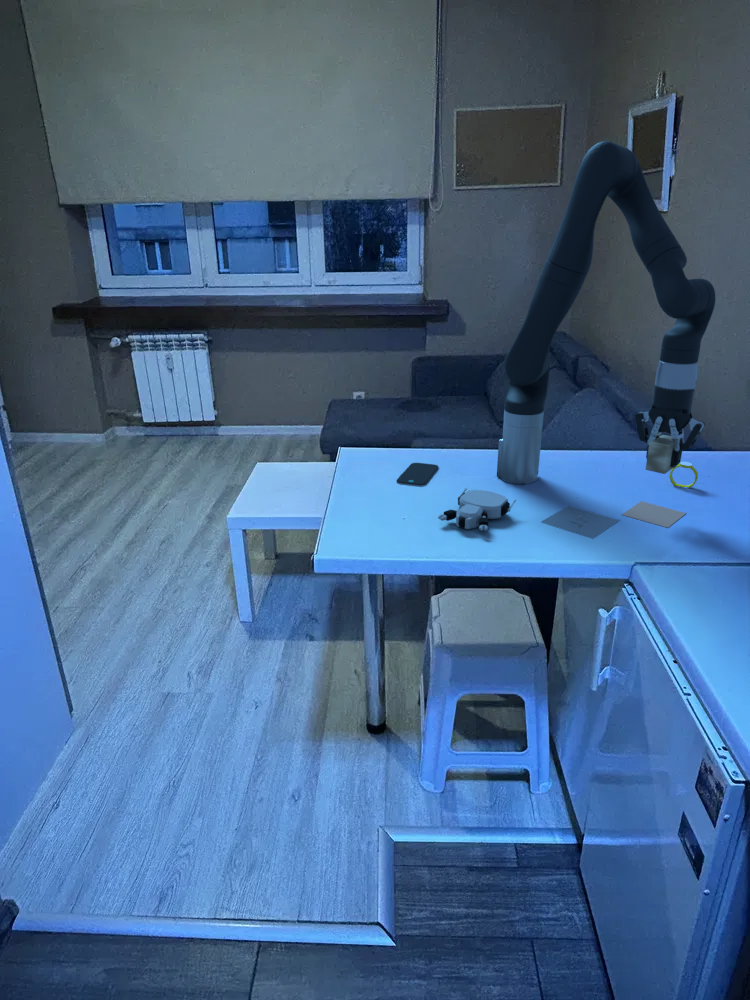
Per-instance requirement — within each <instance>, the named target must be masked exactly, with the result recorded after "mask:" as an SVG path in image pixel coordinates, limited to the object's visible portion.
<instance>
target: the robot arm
mask: <svg viewBox="0 0 750 1000" xmlns="http://www.w3.org/2000/svg"><path fill="white" fill-rule="evenodd" d="M573 184H574V185H573V187H572V191H571V193H570V196H569V197H570V198H569V201H568V204H567V207H566V211H565V213H564V215H563V218H562V219H561V220H562V221H561V223H560V225H559V228H558V231H557V234H556V237H555V239H554V241H553V244H552V246H551V249H550V251H549V254H548V255H547V258H546V259H545V262H544V264H543V265H544V266H543V267H542V271H541V272H540V275H539V278H538V281H537V284H536V287H535V288H534V289H535V290H534V291H533V294H532V295H533V296H532V298H531V300H530V303H529V307H528V310H527V313H526V316H525V319H524V322H523V324H522V326H521V328H520V330H519V332H518V333H517V336H516V338H515V339H514V342H513V344H512V345H511V346H510V349H509V351H508V353H507V354H506V357H505V359H504V372H505V374H506V377H507V379H508V380H509V381H508V383H509V384H508V389H507V394H506V396H505V398H504V410H503V411H504V412H503V427H502V438H500V439H499V440H498V449H497V463H496V464H497V465H496V477H498V478H500V479H501V480H502V481H505V482H507V483H510V484H516V485H518V484H520V485H521V484H522V485H524V484H525V485H526V484H527V485H528V484H531V483H532V484H533V483H534V482H536V481H538V479H539V478H538V477H539V472H540V471H539V467H540V456H541V446H542V434H543V425H544V412H545V411H544V410H545V403H546V400H547V395H548V389H549V388H548V387H549V386H548V385H549V378H550V368H551V357H550V352H549V350H550V348H551V344H552V342H553V340H554V337H555V334H556V333H557V331H558V328H559V327H560V325H561V324H562V322H563V321H564V319H565V318H566V316H567V314H568V313H569V311H570V309H571V308H572V307H573V304H574V303H575V300H576V299H577V297H578V295H579V294H580V291H581V289H582V288H583V285H584V283H585V280H586V277H587V276H588V273H589V271H590V268H591V265H592V260H593V254H594V253H593V252H594V238H595V235H594V234H595V227H596V223H597V219H598V217H599V214H600V212H601V209H602V207H603V205H604V202H605V201H606V199H607V197H608V198H609V199H610V200H612V202H613V203H614V204H615V205H616V207H618V208H619V210H620V211H621V213H622V214H623V216H624V219H625V220H626V223H627V225H628V228H629V232H630V237H631V240H632V244H633V247H634V249H635V252H636V253H637V255H638V257H639V258H640V261H641V262H642V264H643V265H644V267H645V269H646V271H647V272H648V273H649V275H650V276H651V282H652V286H653V289H654V293H655V297H656V300H657V302H658V305H659V307H660V308H661V311H663V312H664V313H665V314H666V315H667V316H668V317H669V318H672V319H675V323H674V326H673V327H672V328H671V329H669V330H668V331H667V332H666V333H664V335H663V338H662V342H661V348H660V355H659V361H658V365H657V368H656V373H655V380H654V387H653V391H652V392H653V394H652V400H651V401H652V402H651V407H650V409H649V410H648V411H644V410H642V411H639V412H637V413H635V415H634V418H635V423H636V428H637V434H638V439H639V440H640V441H641V442H644V443H646V444H647V448H646V455H645V457H646V459H647V456H648V449H649V442H651V441H653V440H655V439H656V438H659V437H660V436H662V435H663V434H662V433H667V434H669V435H670V436H671V438H672V440H673V447H674V450H673V451H672V457H671V463H670V467H672V468H674V467H676V466H677V465H678V464H680V462H682V456H683V455H682V453H683V451H687V450H689V449H691V448H692V447H694V445H695V444H696V441H697V440H698V438H699V437H700V435H701V433H702V431H703V430H704V428H705V426H706V423H705V422H704V421H698V420H696V419H694V418H693V414H692V407H693V402H694V401H693V400H694V395H695V391H696V390H695V389H696V385H697V381H698V380H697V379H698V378H697V377H698V363H699V358H700V357H699V356H700V352H701V343H702V340H703V337H704V335H705V332H706V331H707V329H708V326H709V323H710V321H711V318H712V315H713V312H714V310H715V305H716V290H715V288H714V286H713V284H712V283H711V281H709V280H708V279H704V278H691V279H690V278H689V279H688V278H687V276H686V274H685V272H684V268H685V267H686V266H687V263H688V262H687V261H688V260H687V259H688V258H687V255H686V253H685V251H684V249H683V248H682V246H681V244H680V243H679V241H678V240H677V238H676V237H675V235H674V233H673V232H672V230H671V228H670V226H669V225H668V224H667V221H666V220H665V219H664V217H663V215H662V213H661V212H660V210H659V208H658V206H657V204H656V201H655V200H654V198H653V196H652V194H651V191H650V187H649V186H648V184H647V180H646V179H645V174H644V173H643V169H642V168H641V164H640V162H639V160H638V158H637V156H636V155H635V153H634V152H633V151H632V150H630V149H629V148H627V147H624V146H622V145H621V144H617V143H615V142H612V141H607V140H604V141H603V140H602V141H599V142H597V143H596V144H594V145H593V146H591V147H590V149H588V150H587V152H586V153H585V155H584V157H583V158H582V161H581V162H580V165H579V167H578V170H577V174H576V177H575V181H574V183H573ZM649 420H650V421H651V423H652V425H653V427H652V429H651V431H650V429H649V425H648V421H649ZM688 425H689V430H690V433H689V435H688V436H687V438H686V440H685V441H684V437H685V434H684V433H685V432H684V428H685V427H687V426H688Z"/></svg>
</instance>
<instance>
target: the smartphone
mask: <svg viewBox="0 0 750 1000" xmlns="http://www.w3.org/2000/svg"><path fill="white" fill-rule="evenodd" d="M439 468H440V467H439V465H438V464H432V463H423V462H412V463H410V464H409V466H408V467H407V468H406V469H405V470H404V471H403V472H402V473H401V475H399V476H398V478H397V479H396V484H399V485H405V486H414V487H424V485H425V486H427V484H428V483H429V482H431V481H430V480H431V479H432V478H433V477H434V476H435V474H436V473H437V472H438V471H439Z"/></svg>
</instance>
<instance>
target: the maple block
mask: <svg viewBox="0 0 750 1000" xmlns="http://www.w3.org/2000/svg"><path fill="white" fill-rule="evenodd" d="M673 450H674V447H673V440H672V438H671V435H666V434H661V435H660V437H659V438H656V439H655V440H653V441H651V442H649V449H648V456H647V458H646V463H645V464H646V465H645V471H649V472H653V473H658V474H663V475H666V474H667V473H668V472H671V470H672V469H673V468H672V467H670V463H671V457H672V451H673ZM677 466H678V465H677ZM674 468H675V467H674ZM675 469H676V468H675Z"/></svg>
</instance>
